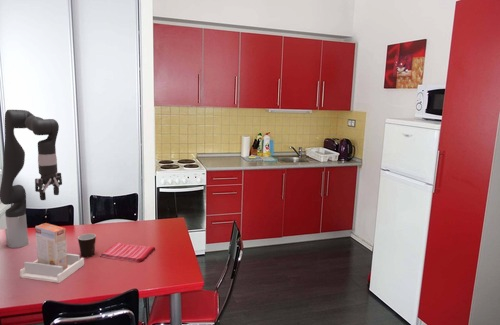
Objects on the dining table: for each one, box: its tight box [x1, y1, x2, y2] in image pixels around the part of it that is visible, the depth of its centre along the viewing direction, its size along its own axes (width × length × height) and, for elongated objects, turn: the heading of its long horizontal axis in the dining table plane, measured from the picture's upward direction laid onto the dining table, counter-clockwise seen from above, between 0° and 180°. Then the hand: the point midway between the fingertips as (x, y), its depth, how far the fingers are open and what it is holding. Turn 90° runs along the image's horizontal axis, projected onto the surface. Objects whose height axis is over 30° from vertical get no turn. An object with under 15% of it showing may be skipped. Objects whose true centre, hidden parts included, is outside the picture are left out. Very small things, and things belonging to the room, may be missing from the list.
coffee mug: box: [77, 233, 97, 258], centre depth 194 cm, size 12×9×10 cm
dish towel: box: [99, 242, 156, 263], centre depth 197 cm, size 17×24×3 cm
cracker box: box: [34, 222, 68, 271], centre depth 173 cm, size 14×6×21 cm, turn 63°
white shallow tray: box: [19, 253, 85, 284], centre depth 175 cm, size 20×18×6 cm
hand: (49, 197), depth 171 cm, fingers open, 8 cm apart
